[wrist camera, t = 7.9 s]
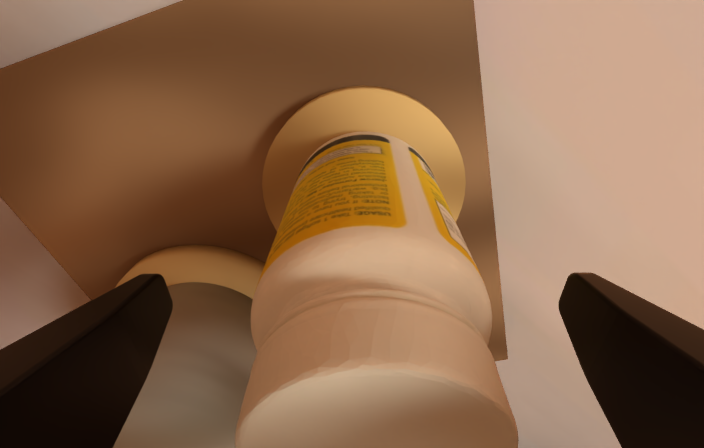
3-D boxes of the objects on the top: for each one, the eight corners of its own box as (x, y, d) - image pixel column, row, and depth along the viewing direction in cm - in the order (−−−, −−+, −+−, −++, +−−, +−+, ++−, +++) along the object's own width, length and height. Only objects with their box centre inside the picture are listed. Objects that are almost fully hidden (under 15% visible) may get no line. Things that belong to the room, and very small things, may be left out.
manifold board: (497, 335, 19) (567, 496, 12) (198, 387, 22) (131, 539, 15) (450, -89, 10) (601, -275, 4) (-40, 92, 13) (-424, 161, 7)
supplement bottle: (278, 223, 13) (168, 493, 5) (328, 102, 10) (256, 284, 3) (393, 269, 14) (431, 551, 6) (462, 166, 11) (637, 419, 4)
